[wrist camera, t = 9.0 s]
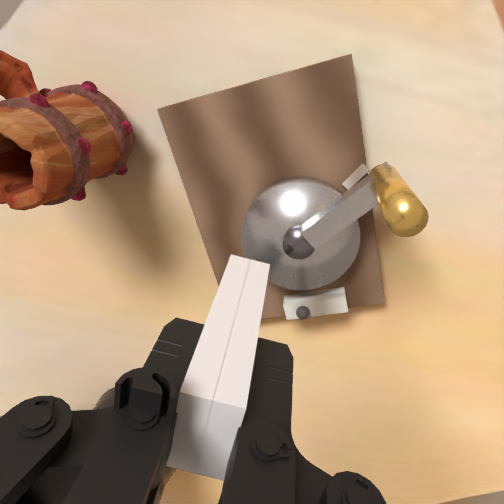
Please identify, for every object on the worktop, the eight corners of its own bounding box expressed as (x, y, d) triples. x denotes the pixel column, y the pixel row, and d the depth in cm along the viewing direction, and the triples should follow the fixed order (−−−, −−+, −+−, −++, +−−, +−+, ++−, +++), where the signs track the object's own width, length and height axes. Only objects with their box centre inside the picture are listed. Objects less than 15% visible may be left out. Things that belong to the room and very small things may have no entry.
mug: (164, 140, 37) (84, 187, 24) (112, 189, 40) (17, 255, 27) (45, 5, 33) (-130, -28, 20) (-2, 72, 36) (-181, 82, 23)
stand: (234, 312, 46) (226, 340, 41) (164, 106, 36) (144, 114, 31) (383, 291, 42) (391, 320, 37) (351, 53, 32) (358, 53, 27)
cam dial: (292, 297, 41) (288, 373, 31) (221, 224, 38) (191, 283, 28) (425, 208, 34) (472, 268, 25) (352, 113, 32) (372, 139, 22)
